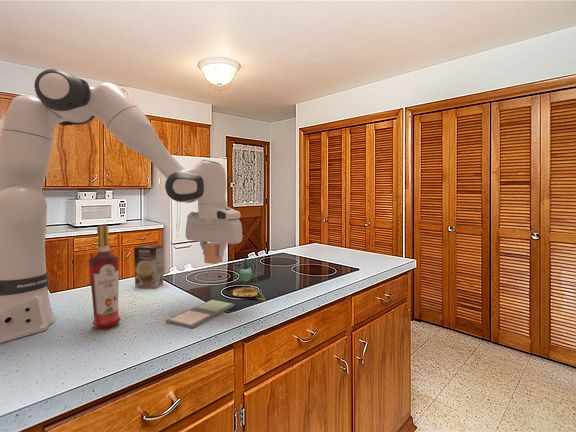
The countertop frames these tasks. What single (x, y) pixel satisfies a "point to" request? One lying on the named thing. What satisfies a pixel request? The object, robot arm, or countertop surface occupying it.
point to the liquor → (104, 283)
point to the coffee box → (148, 266)
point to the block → (212, 253)
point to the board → (200, 314)
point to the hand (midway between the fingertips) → (213, 255)
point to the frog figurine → (246, 275)
